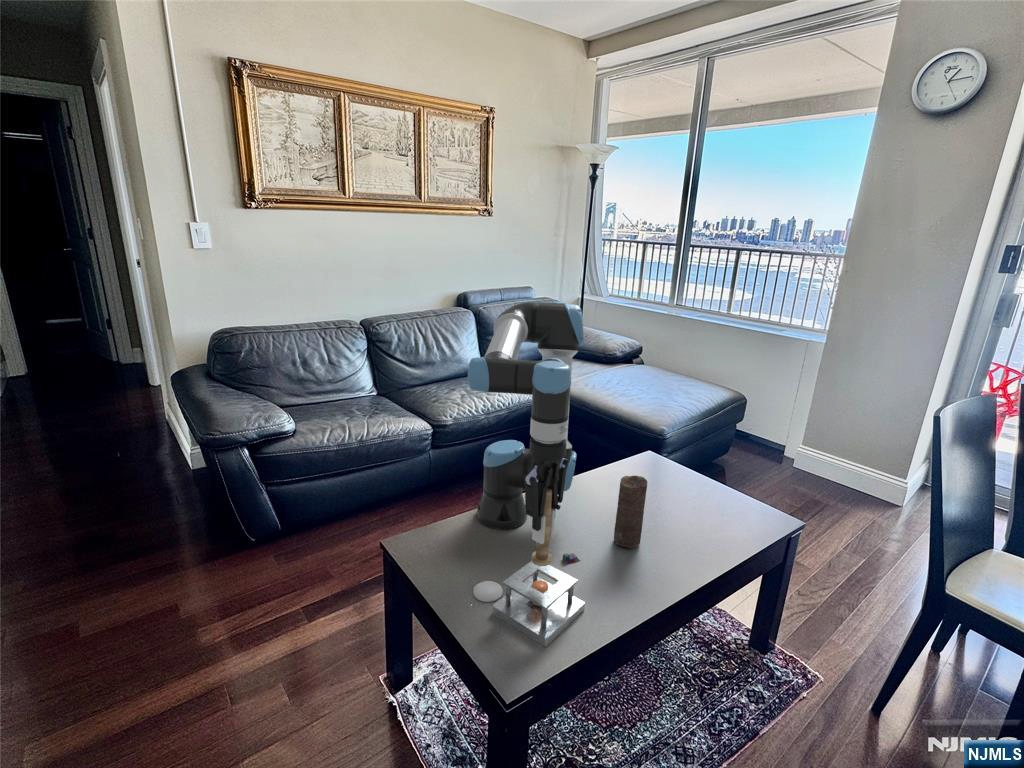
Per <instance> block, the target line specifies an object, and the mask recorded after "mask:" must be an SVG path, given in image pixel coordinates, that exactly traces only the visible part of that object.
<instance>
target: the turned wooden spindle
mask: <svg viewBox="0 0 1024 768" xmlns="http://www.w3.org/2000/svg"><path fill="white" fill-rule="evenodd" d="M551 502H552V490H551V489H550V488H547V492H546V499H545V506H544V513H543V515H545V516H546V521H545V538H544V544H540V543H538V542H536V541H535V551H534V552H532V553H531V554H532V555H531V561H532V562H533V563H534V564H535V565H538V566H547V565H550V564H552V560H553V559H552V558H553V555H552V553H550V552H549V550H550V537H549V535H550V519H551Z"/></svg>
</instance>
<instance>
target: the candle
mask: <svg viewBox="0 0 1024 768" xmlns="http://www.w3.org/2000/svg"><path fill="white" fill-rule="evenodd" d="M619 483H620V484H619V490H618V499H617V507H616V508H617V510H616V515H615V516H616V517H615V524H614V529H613V530H614V534H613V540H614V542H615V544H617V546H621V547H626V548H629V549H632V548H636V547H639V546H640V545H641V540H642V531H643V524H644V523H643V522H644V513H645V506H646V505H645V504H646V498H647V490H648V480H647V478H645V477H644V476H642V475H624V476H623V477H621V479H620V482H619Z"/></svg>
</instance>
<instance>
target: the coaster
mask: <svg viewBox="0 0 1024 768" xmlns="http://www.w3.org/2000/svg"><path fill="white" fill-rule="evenodd" d="M472 592H473V596H474V598H476V599H477V600H478V601H480V602H484V603H493V602H495V601H496V602H497V601H499V600H500V599H501V597H502V595H503V593H504V590H503V587H502V585H500V584H499V583H497V582H494V581H492V580H491V581H490V580H484V581H481V582H479V583H477V584H476V585H475V586H474V587H473V591H472Z"/></svg>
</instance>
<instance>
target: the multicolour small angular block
mask: <svg viewBox="0 0 1024 768" xmlns="http://www.w3.org/2000/svg"><path fill="white" fill-rule="evenodd" d="M562 560H563V562H565V564H569V563H572V564H577V563H580V562H581V560H580V559H579V558H578V556H577V555H576V554H575V553H564V554H563V555H562Z"/></svg>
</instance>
